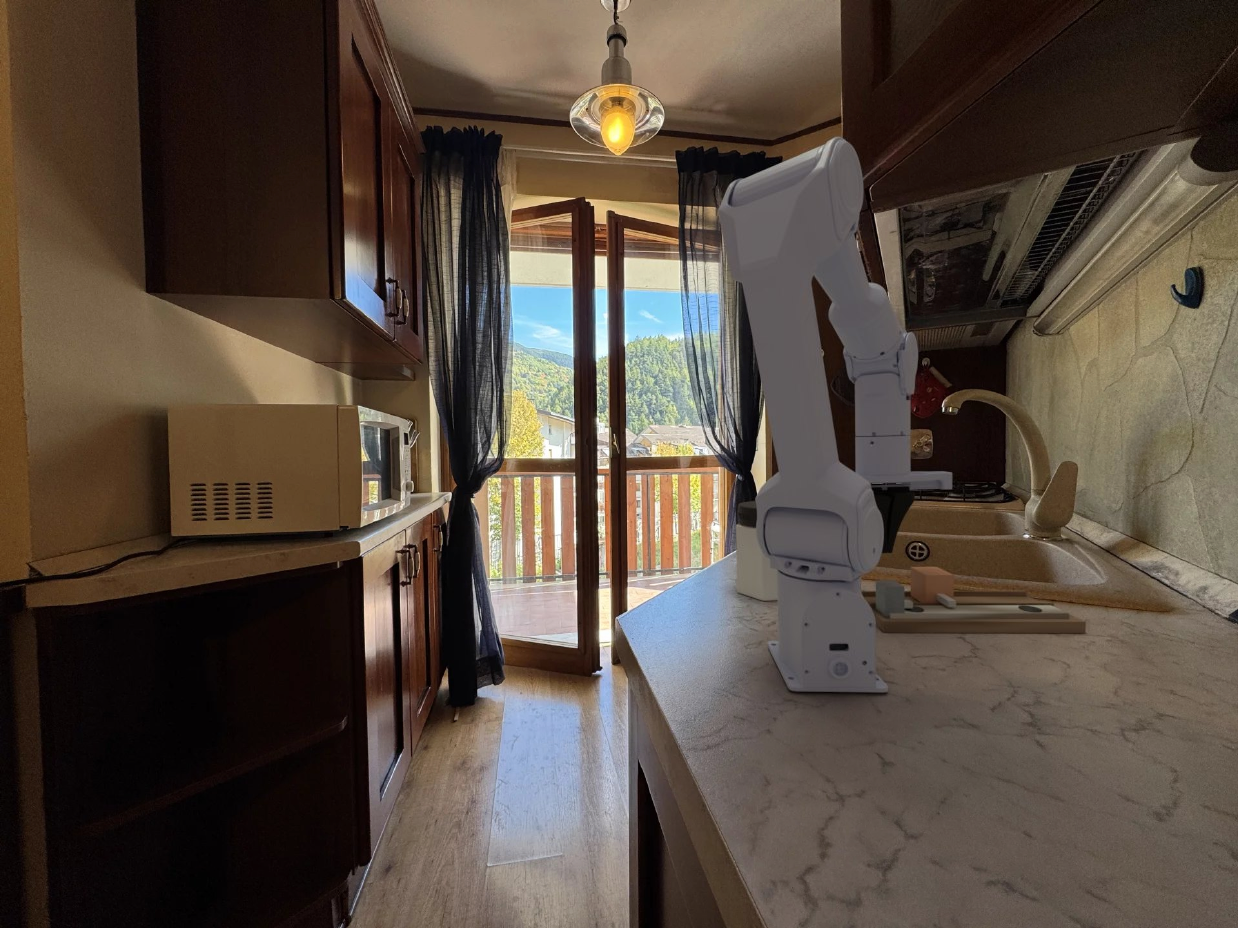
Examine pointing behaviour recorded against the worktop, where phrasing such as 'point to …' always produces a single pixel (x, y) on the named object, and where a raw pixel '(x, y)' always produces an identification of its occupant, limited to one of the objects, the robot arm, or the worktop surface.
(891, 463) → the robot arm
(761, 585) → the jar
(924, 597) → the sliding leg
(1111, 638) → the worktop surface
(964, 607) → the board
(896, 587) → the fixed leg
